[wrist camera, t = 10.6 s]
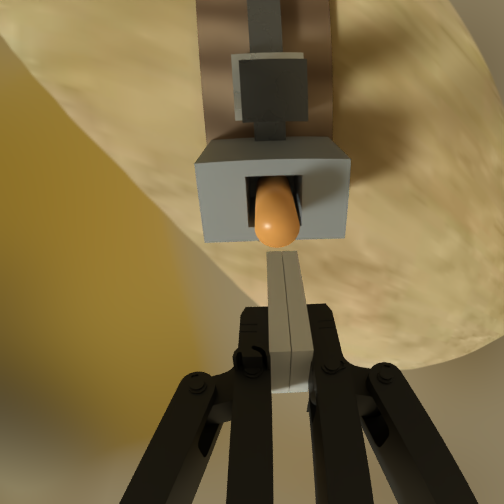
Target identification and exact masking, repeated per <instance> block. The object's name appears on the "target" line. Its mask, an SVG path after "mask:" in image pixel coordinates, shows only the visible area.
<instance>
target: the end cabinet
mask: <svg viewBox="0 0 504 504" xmlns="http://www.w3.org/2000/svg"><path fill="white" fill-rule="evenodd" d="M350 168H351V159H350V158H349V157H348V156H347V155H346V154H345V153H344V152H343V151H342V150H341V149H340V148H339V147H338V146H337V145H336V144H335V143H334V142H333V141H332V140H331V139H330V138H329V137H316V136H294V137H286V140H284V141H255V138H235V139H220V140H211V141H210V143H209V144H208V145H207V147H206V148H205V149H204V151H203V152H202V154H201V155H200V157H199V158H198V159H197V161H196V162H195V173H196V181H197V189H198V197H199V204H200V212H201V219H202V226H203V233H204V240H205V243H210V242H238V241H260V240H259V239H258V237H257V236H256V233H255V204H256V183H257V180H258V179H259V177H260V176H276V175H285V176H286V177H287V179H288V181H289V184H290V188H291V192H292V196H293V199H294V203H295V207H296V211H297V216H298V220H299V224H300V230H299V234H298V236H297V238H296V239H295V240H301V239H336V238H345V230H346V220H347V209H348V197H349V184H350Z"/></svg>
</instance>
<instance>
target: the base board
mask: <svg viewBox="0 0 504 504" xmlns="http://www.w3.org/2000/svg"><path fill="white" fill-rule="evenodd" d="M280 9H281V26H282V44H283V52H301V53H303V57H304V59H307V79H308V121H286V137H294V136H316V137H329V138H330V139H331V140H332V130H333V82H332V46H331V26H330V9H329V0H280ZM196 11H197V28H198V44H199V58H200V71H201V84H202V96H203V108H204V119H205V130H206V141H207V145H208V144H209V143H210V141H211V140H220V139H235V138H255V137H254V122H252V123H242V120H239V121H235V108H234V93H233V78H232V63H231V54H246V53H250V47H249V30H248V13H247V0H196Z"/></svg>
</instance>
